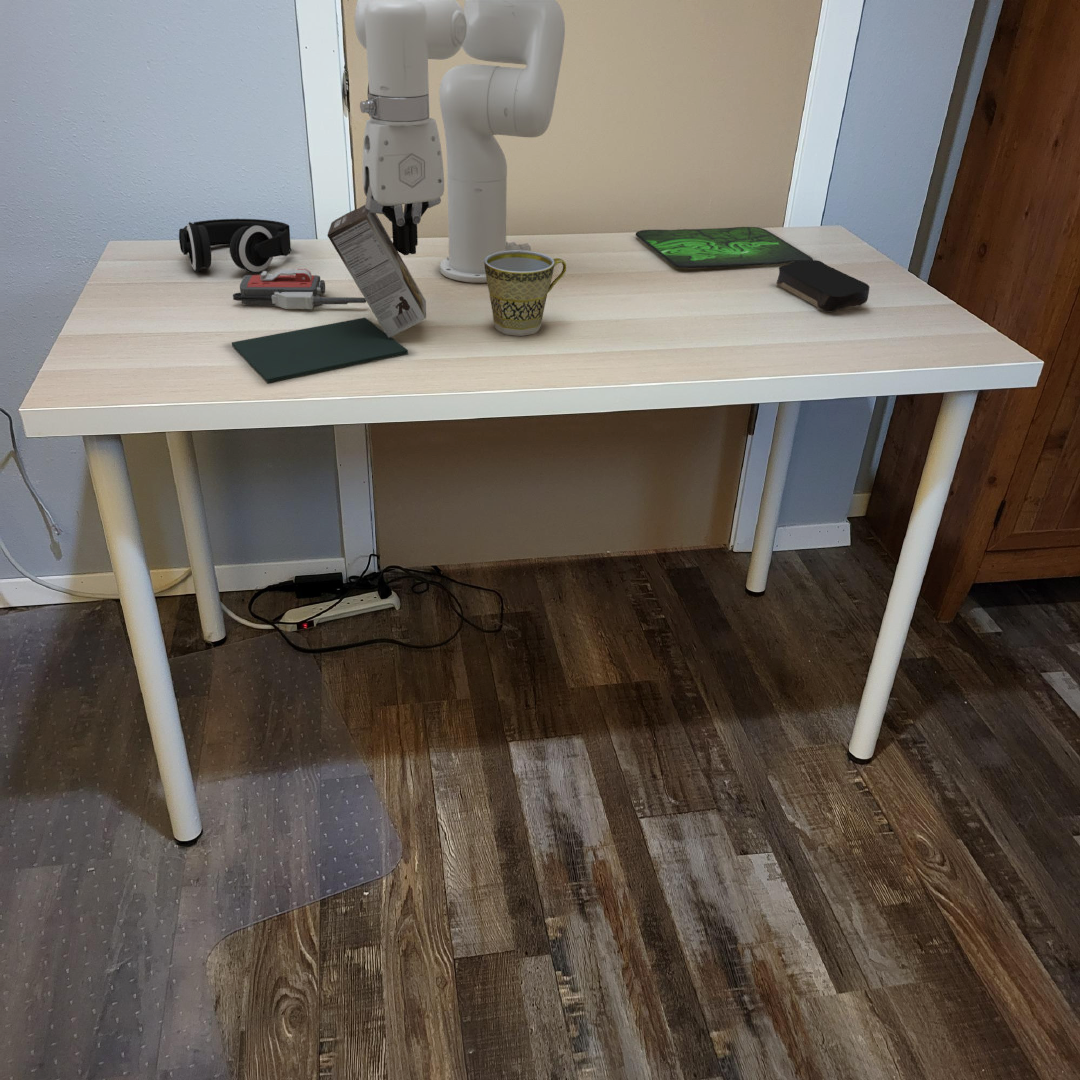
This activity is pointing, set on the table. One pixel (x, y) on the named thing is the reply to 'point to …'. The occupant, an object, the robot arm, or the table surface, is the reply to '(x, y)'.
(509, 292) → the ceramic cup
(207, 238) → the headphones
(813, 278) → the black flat block
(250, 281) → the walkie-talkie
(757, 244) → the mouse mat
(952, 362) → the table surface
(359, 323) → the mat
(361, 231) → the coffee box
